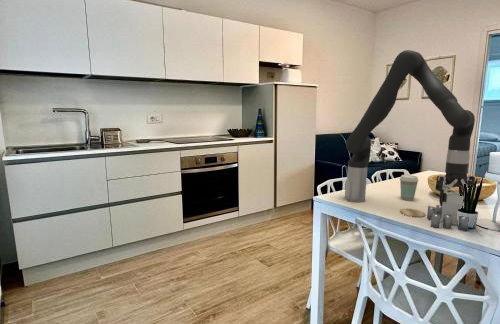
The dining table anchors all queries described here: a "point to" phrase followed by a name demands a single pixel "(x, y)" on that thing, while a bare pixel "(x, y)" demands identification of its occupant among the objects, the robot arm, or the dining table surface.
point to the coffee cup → (408, 187)
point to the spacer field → (446, 219)
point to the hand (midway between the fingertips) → (453, 201)
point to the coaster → (412, 212)
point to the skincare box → (452, 206)
